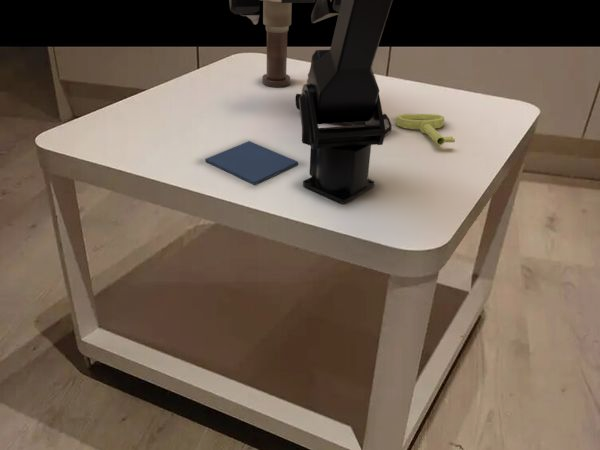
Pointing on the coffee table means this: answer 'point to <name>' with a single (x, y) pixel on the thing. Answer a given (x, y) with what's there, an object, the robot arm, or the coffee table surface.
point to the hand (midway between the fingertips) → (283, 21)
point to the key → (424, 125)
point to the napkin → (251, 162)
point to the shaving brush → (276, 41)
